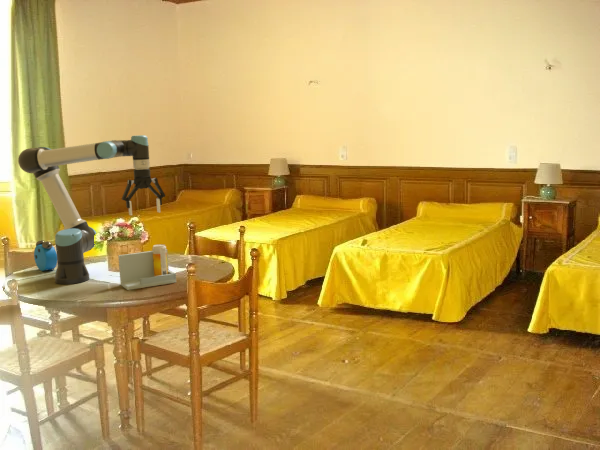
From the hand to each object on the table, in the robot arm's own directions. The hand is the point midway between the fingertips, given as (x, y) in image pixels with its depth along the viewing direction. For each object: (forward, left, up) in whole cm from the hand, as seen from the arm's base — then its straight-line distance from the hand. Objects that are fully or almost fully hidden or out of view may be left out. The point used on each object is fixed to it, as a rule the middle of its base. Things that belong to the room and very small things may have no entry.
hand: (144, 213), depth 313 cm
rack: (-7, -21, -29) cm, 36 cm away
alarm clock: (-40, +40, -29) cm, 64 cm away
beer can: (-1, -20, -27) cm, 34 cm away
